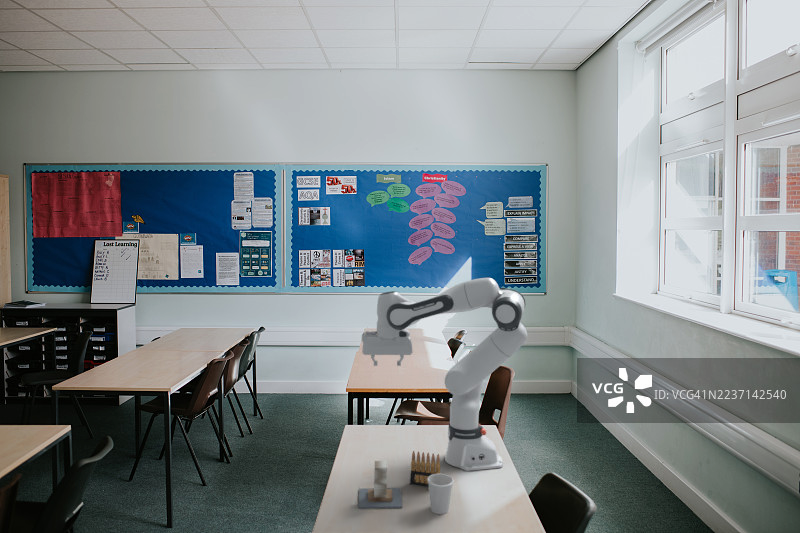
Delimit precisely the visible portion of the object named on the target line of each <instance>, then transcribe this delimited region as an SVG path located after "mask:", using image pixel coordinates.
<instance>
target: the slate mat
mask: <svg viewBox="0 0 800 533" xmlns="http://www.w3.org/2000/svg"><path fill="white" fill-rule="evenodd" d="M368 489H374V487H373V488H372V487H371V488H370V487H367V488H363V487H362V488H359V490H358V510H359V509H366V510H367V509H374V510H375V509H403V503H402V502H403V501H402V494H401V488H400V487H390V488H389V487H387V489H392V497H393V502H368Z"/></svg>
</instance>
